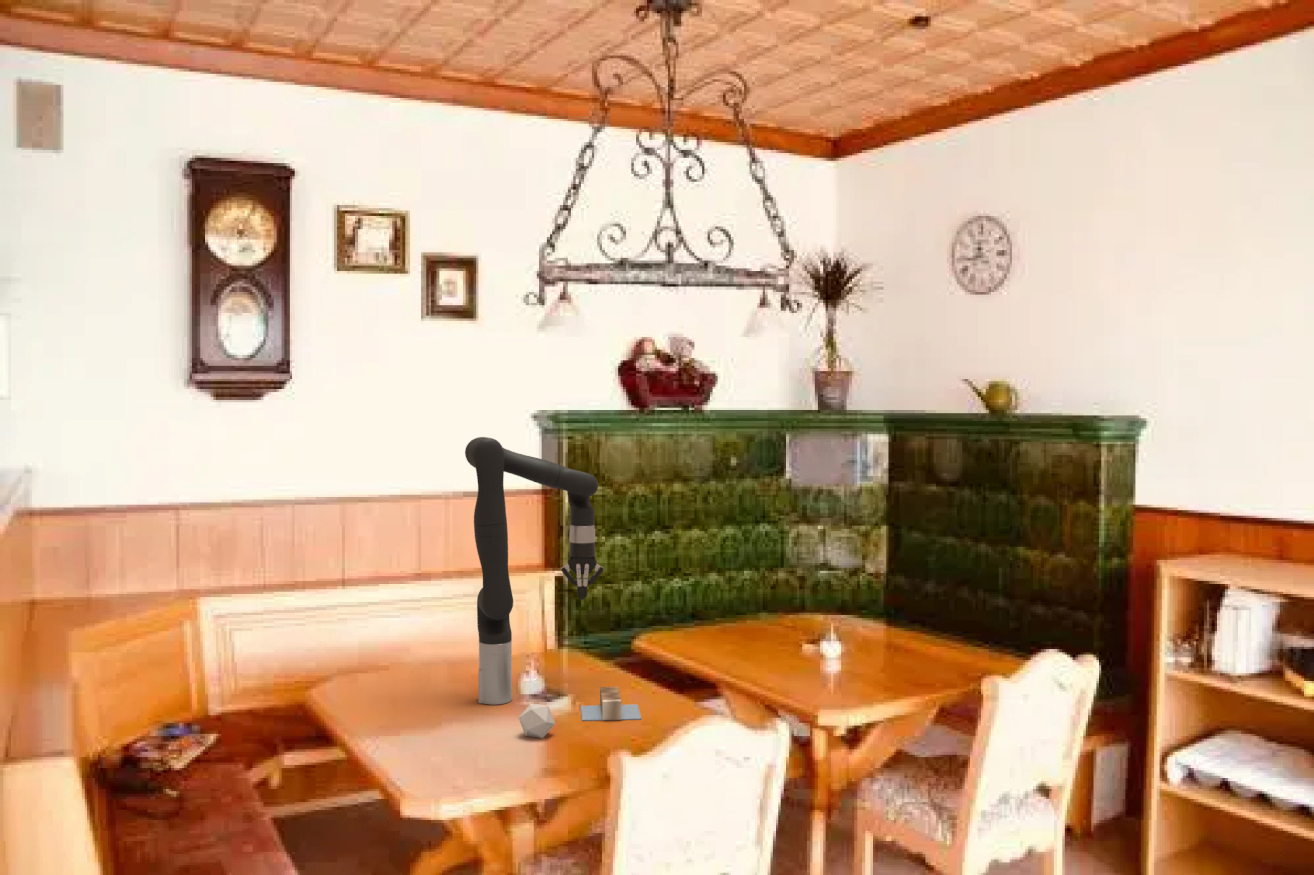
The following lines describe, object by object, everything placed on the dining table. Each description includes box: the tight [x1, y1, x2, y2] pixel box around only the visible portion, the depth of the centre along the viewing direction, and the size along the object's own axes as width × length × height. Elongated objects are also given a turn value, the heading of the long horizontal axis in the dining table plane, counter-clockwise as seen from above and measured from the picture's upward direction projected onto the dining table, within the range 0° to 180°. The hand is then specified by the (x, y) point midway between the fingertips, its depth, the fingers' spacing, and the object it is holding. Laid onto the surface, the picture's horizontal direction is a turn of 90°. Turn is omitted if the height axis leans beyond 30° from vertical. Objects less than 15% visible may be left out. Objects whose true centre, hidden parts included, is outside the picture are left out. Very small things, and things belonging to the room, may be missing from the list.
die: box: [518, 703, 556, 739], centre depth 294 cm, size 8×9×10 cm
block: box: [599, 686, 622, 721], centre depth 313 cm, size 5×5×14 cm
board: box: [580, 703, 642, 722], centre depth 313 cm, size 16×13×1 cm
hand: (582, 598), depth 335 cm, fingers closed
